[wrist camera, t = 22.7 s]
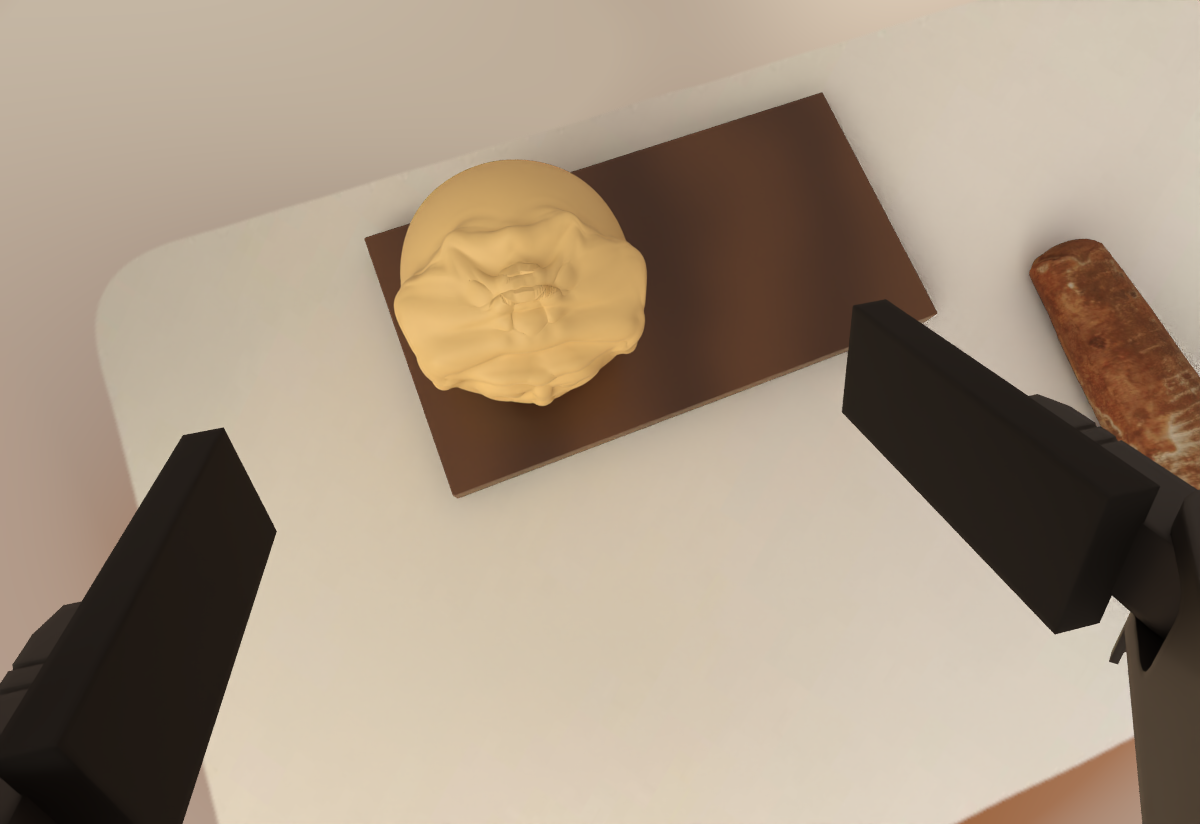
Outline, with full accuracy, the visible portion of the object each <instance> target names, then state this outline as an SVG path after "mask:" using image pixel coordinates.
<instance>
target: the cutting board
mask: <svg viewBox="0 0 1200 824" xmlns="http://www.w3.org/2000/svg"><path fill="white" fill-rule="evenodd" d="M570 173H572V174H573V175H575V176H577V177H578V178H580V179H581V180H583V181H584V182H585V183H587V184H588V185H589V186H590V187H591V188H592V189H593V190H595V191H596V192H597V193H598V195H599V196H600V197H601V198H602V199H603V200H604V201H605V203H606V204H607V205H608V207H609V208H610V210H611V211H612V213H613V214H614V216H615V218H616V219H617V221H618V223H619V225H620V227H621V230H622V232H623V234H624V237H625V239H626V241H627V242H628V243H630V244H631V245H632V246H633V247H634V248H636V249H637V250H638V251H639V252H640V253H641V254H642V256H643V258H644V260H645V263H646V269H647V286H646V300H645V307H644V315H645V325H644V330H643V333H642V335H641V337H640V339H639V340H638V341H637V346H636V348H635V350H634V351H633V352H631V353H629V354H619V355H616V356H615V357H614V358H613V359H612V360H611V361H610V362H608V363H607V364H606V365H605V366H603V367H602V368H601V369H600V370H599V372H598V373H597V374H596V375H595V376H594V377H593V378H592V379H591V380H589V381H588V382H586V383H585V384H583V385H581V386H579V387H577V388H574V389H572V390H570V391H568V392H566V393H565V394H563V395H561V396H560V397H558V398H555V399H554V400H553V401H552V402H551V403H550V404H548V405H545V406H539V405H536V404H535V403H520V402H513V401H498V400H494V399H490V398H488V397H486V396H484V395H482V394H479V393H474V392H470V391H467V390H464V389H461V388H459V387H454V388H451V389H449V390H439V389H438V388H436V387H435V386H434V384H433V382H432V381H431V380H430V379H429V378H427V377H426V376H425V374H424V373H423V372H422V370H421V369H420V367H419V365H418V362H417V358H416V355H415V354H414V352H413V351H412V349H411V347H410V345H409V343H408V341H407V339H406V338H405V336H404V334H403V332H402V330H401V328H400V326H399V323H398V321H397V318H396V315H395V311H394V300H395V297H396V295H397V293H398V291H399V290H400V288H401V279H400V265H401V255H402V249H403V244H404V240H405V237H406V233H407V231H408V228H409V226H410V224H407V225H404V226H401V227H397V228H394V229H391V230H388V231H385V232H382V233H378V234H375V235H372V236H369V237H366V238H365V242H366V245H367V248H368V251H369V254H370V257H371V259H372V262H373V265H374V268H375V271H376V274H377V277H378V280H379V283H380V286H381V288H382V291H383V294H384V297H385V300H386V303H387V306H388V309H389V312H390V314H391V317H392V320H393V323H394V326H395V329H396V332H397V335H398V338H399V341H400V343H401V346H402V349H403V352H404V355H405V358H406V361H407V364H408V367H409V369H410V372H411V375H412V378H413V381H414V384H415V387H416V390H417V393H418V396H419V398H420V401H421V404H422V407H423V410H424V413H425V416H426V419H427V422H428V425H429V427H430V430H431V433H432V436H433V439H434V442H435V445H436V448H437V451H438V453H439V456H440V459H441V462H442V465H443V468H444V471H445V474H446V477H447V480H448V482H449V485H450V488H451V491H452V494H453V496H455V497H456V498H460V497H463V496H466V495H468V494H471V493H474V492H476V491H479V490H482V489H484V488H487V487H490V486H492V485H495V484H497V483H500V482H503V481H505V480H508V479H511V478H513V477H516V476H519V475H521V474H524V473H527V472H529V471H532V470H535V469H537V468H540V467H542V466H545V465H548V464H550V463H553V462H556V461H558V460H561V459H564V458H566V457H569V456H572V455H574V454H577V453H579V452H582V451H585V450H587V449H590V448H593V447H595V446H598V445H601V444H603V443H606V442H609V441H611V440H614V439H617V438H619V437H622V436H624V435H627V434H630V433H632V432H635V431H638V430H640V429H643V428H646V427H648V426H651V425H654V424H656V423H659V422H662V421H664V420H667V419H669V418H672V417H675V416H677V415H680V414H683V413H685V412H688V411H691V410H693V409H696V408H699V407H701V406H704V405H706V404H709V403H712V402H714V401H717V400H720V399H722V398H725V397H728V396H730V395H733V394H736V393H738V392H741V391H744V390H746V389H749V388H751V387H754V386H757V385H759V384H762V383H765V382H767V381H770V380H773V379H775V378H778V377H781V376H783V375H786V374H788V373H791V372H794V371H796V370H799V369H802V368H804V367H807V366H810V365H812V364H815V363H818V362H820V361H823V360H826V359H828V358H831V357H833V356H836V355H839V354H841V353H844V352H847V351H848V348H849V338H850V328H851V318H852V309H853V305H858V304H863V303H868V302H874V301H879V300H884V299H887V300H888V301H889V302H891V303H892V304H894V305H895V306H897V307H898V308H900V309H901V310H903V311H904V312H906V313H907V314H909V315H910V316H911V317H913V318H914V319H916V320H917V321H919V322H920V323H923V322H925V321H927V320H928V319H930V318H931V317H933V316H934V315H936V314H937V311H936V309H935V307H934V305H933V303H932V301H931V300H930V298H929V296H928V294H927V292H926V290H925V288H924V286H923V284H922V282H921V280H920V278H919V277H918V275H917V273H916V271H915V269H914V267H913V265H912V263H911V261H910V259H909V257H908V255H907V254H906V252H905V250H904V248H903V246H902V244H901V242H900V240H899V238H898V236H897V234H896V232H895V231H894V229H893V227H892V225H891V223H890V221H889V219H888V217H887V215H886V213H885V211H884V209H883V208H882V206H881V204H880V202H879V200H878V198H877V196H876V194H875V192H874V190H873V188H872V186H871V185H870V183H869V181H868V179H867V177H866V175H865V173H864V171H863V169H862V167H861V165H860V163H859V162H858V160H857V158H856V156H855V154H854V152H853V150H852V148H851V146H850V144H849V142H848V141H847V139H846V137H845V135H844V133H843V131H842V129H841V127H840V125H839V123H838V121H837V119H836V118H835V116H834V114H833V112H832V110H831V108H830V106H829V104H828V102H827V100H826V98H825V96H824V95H823V93H819V94H815V95H812V96H809V97H806V98H803V99H800V100H797V101H793V102H790V103H787V104H784V105H781V106H778V107H775V108H771V109H768V110H765V111H762V112H759V113H756V114H753V115H749V116H746V117H743V118H740V119H737V120H734V121H731V122H727V123H724V124H721V125H718V126H715V127H712V128H709V129H705V130H702V131H699V132H696V133H693V134H690V135H687V136H683V137H680V138H677V139H674V140H671V141H668V142H665V143H661V144H658V145H655V146H652V147H649V148H646V149H643V150H639V151H636V152H633V153H630V154H627V155H624V156H621V157H617V158H614V159H611V160H608V161H605V162H602V163H599V164H595V165H592V166H589V167H586V168H583V169H580V170H577V171H573V172H570Z"/></svg>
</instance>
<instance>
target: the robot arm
mask: <svg viewBox="0 0 1200 824" xmlns="http://www.w3.org/2000/svg"><path fill="white" fill-rule="evenodd" d="M842 413H843V414H844V415H845V416H846V417H847V418H848V419H849V420H850V421H851V422H852V423H853V424H854V425H855V426H856V427H857V428H858V429H859V430H860V431H861V433H862V434H863V435H864V436H865V437H866V438H867V439H868V440H869V441H870V442H871V443H872V444H873V445H874V446H875V447H876V448H877V449H878V450H879V451H880V452H881V453H882V454H883V456H884V457H885V458H886V459H887V460H888V461H889V462H890V463H891V464H892V465H893V466H894V467H895V468H896V469H897V470H898V471H899V472H900V473H901V474H902V475H903V476H904V477H905V478H906V480H907V481H908V482H909V483H910V484H911V485H912V486H913V487H914V488H915V489H916V490H917V491H918V492H919V493H920V494H921V495H922V496H923V497H924V498H925V499H926V500H927V501H928V502H929V504H930V505H931V506H932V507H933V508H934V509H935V510H936V511H937V512H938V513H939V514H940V515H941V516H942V517H943V518H944V519H945V520H946V521H947V522H948V523H949V524H950V525H951V527H952V528H953V529H954V530H955V531H956V532H957V533H958V534H959V535H960V536H961V537H962V538H963V539H964V540H965V541H966V542H967V543H968V544H969V545H970V546H971V547H972V548H973V549H974V551H975V552H976V553H977V554H978V555H979V556H980V557H981V558H982V559H983V560H984V561H985V562H986V563H987V564H988V565H989V566H990V567H991V568H992V569H993V570H994V571H995V572H996V573H997V575H998V576H999V577H1000V578H1001V579H1002V580H1003V581H1004V582H1005V583H1006V584H1007V585H1008V586H1009V587H1010V588H1011V589H1012V590H1013V591H1014V592H1015V593H1016V594H1017V595H1018V596H1019V598H1020V599H1021V600H1022V601H1023V602H1024V603H1025V604H1026V605H1027V606H1028V607H1029V608H1030V609H1031V610H1032V611H1033V612H1034V613H1035V614H1036V615H1037V616H1038V617H1039V618H1040V619H1041V620H1042V622H1043V623H1044V624H1045V625H1046V626H1047V627H1048V628H1049V629H1050V630H1051V631H1052V632H1053V633H1054V634H1058V633H1062V632H1066V631H1070V630H1074V629H1078V628H1082V627H1086V626H1090V625H1094V624H1097V623H1100V621H1101V618H1102V616H1103V614H1104V612H1105V609H1106V607H1107V605H1108V603H1109V600H1110V598H1111V596H1114V597H1115V598H1116V599H1117V600H1118V601H1119V602H1120V603H1121V604H1122V605H1124V606H1125V607H1126V608H1127V609H1128V610H1129V611H1130V614H1129V616H1128V618H1127V620H1126V623H1125V625H1124V627H1123V629H1122V631H1121V633H1120V635H1119V637H1118V639H1117V641H1116V643H1115V646H1114V648H1113V650H1112V652H1111V656H1110V660H1109V662H1112V663H1115V664H1118V663H1119V661H1120V659H1121V657H1122V655H1123V653H1124V652H1127V663H1128V674H1129V684H1130V695H1131V706H1132V717H1133V727H1134V738H1135V749H1136V760H1137V770H1138V781H1139V792H1140V802H1141V813H1142V824H1200V490H1197V489H1196V488H1194V487H1193V486H1191V485H1190V484H1188V483H1187V482H1185V481H1184V480H1182V479H1181V478H1179V477H1178V476H1176V475H1174V474H1173V473H1171V472H1170V471H1168V470H1167V469H1165V468H1164V467H1162V466H1161V465H1159V464H1158V463H1156V462H1155V461H1153V460H1151V459H1150V458H1148V457H1147V456H1145V455H1144V454H1142V453H1141V452H1139V451H1138V450H1136V449H1135V448H1133V447H1132V446H1130V445H1128V444H1127V443H1125V442H1124V441H1122V440H1120V441H1118V440H1117V439H1116V436H1115V435H1113V434H1112V433H1110V432H1109V431H1107V430H1105V429H1104V428H1102V427H1101V426H1100V427H1096V425H1095V422H1093V421H1092V420H1090V419H1089V418H1087V417H1086V416H1084V415H1082V414H1081V413H1079V412H1078V411H1076V410H1075V409H1073V408H1072V407H1070V406H1068V405H1065V404H1062V403H1060V402H1057V401H1054V400H1052V399H1049V398H1046V397H1044V396H1041V395H1038V394H1036V395H1031V396H1027V395H1026V394H1024V393H1023V392H1022V391H1020V390H1019V389H1017V388H1016V387H1014V386H1013V385H1011V384H1010V383H1008V382H1007V381H1005V380H1004V379H1002V378H1001V377H1000V376H998V375H997V374H995V373H994V372H992V371H991V370H989V369H988V368H986V367H985V366H983V365H982V364H980V363H979V362H978V361H976V360H975V359H973V358H972V357H970V356H969V355H967V354H966V353H964V352H963V351H961V350H960V349H958V348H957V347H956V346H954V345H953V344H951V343H950V342H948V341H947V340H945V339H944V338H942V337H941V336H939V335H938V334H936V333H935V332H933V331H932V330H931V329H929V328H928V327H926V326H925V325H923V324H922V323H920V322H919V321H917V320H916V319H914V318H913V317H911V316H910V315H909V314H907V313H906V312H904V311H903V310H901V309H900V308H898V307H897V306H895V305H894V304H892V303H891V302H889V301H888V300H887V299H884V300H879V301H874V302H868V303H863V304H858V305H853V309H852V318H851V328H850V338H849V348H848V358H847V368H846V377H845V387H844V397H843V407H842ZM276 532H277V531H276V529H275V527H274V525H273V523H272V521H271V519H270V517H269V515H268V513H267V511H266V509H265V507H264V505H263V504H262V502H261V500H260V498H259V496H258V494H257V492H256V490H255V488H254V486H253V484H252V482H251V480H250V478H249V476H248V474H247V472H246V470H245V468H244V466H243V464H242V463H241V461H240V459H239V457H238V455H237V453H236V451H235V449H234V447H233V445H232V443H231V441H230V439H229V437H228V435H227V433H226V431H225V429H224V427H223V428H218V429H213V430H208V431H203V432H198V433H193V434H187V435H183V436H182V438H181V439H180V441H179V443H178V444H177V446H176V447H175V449H174V451H173V452H172V454H171V456H170V457H169V459H168V461H167V462H166V464H165V466H164V467H163V469H162V470H161V472H160V474H159V475H158V477H157V479H156V480H155V482H154V484H153V485H152V487H151V489H150V490H149V492H148V493H147V495H146V497H145V498H144V500H143V502H142V503H141V505H140V507H139V508H138V510H137V511H136V513H135V515H134V516H133V518H132V520H131V521H130V523H129V525H128V526H127V528H126V530H125V532H124V533H123V534H122V536H121V538H120V540H119V542H118V543H117V545H116V546H115V548H114V549H113V551H112V553H111V554H110V556H109V557H108V559H107V561H106V562H105V564H104V566H103V567H102V569H101V571H100V572H99V574H98V576H97V577H96V579H95V581H94V582H93V584H92V585H91V587H90V589H89V590H88V592H87V594H86V595H85V597H84V599H83V600H82V602H77V603H72V604H68V605H63V606H62V607H61V608H60V609H59V610H58V611H57V612H56V613H55V614H54V615H53V616H52V617H51V618H50V619H49V620H47V621H46V622H45V623H44V624H43V625H42V626H41V627H40V628H39V629H38V630H37V631H36V632H35V633H34V634H32V636H31V638H30V639H29V640H28V642H27V644H26V645H25V647H24V648H23V650H22V651H21V653H20V654H19V656H18V657H17V659H16V660H15V662H14V663H13V670H12V671H8V673H7V674H6V676H5V677H4V679H3V680H2V682H1V683H0V824H182V823H183V820H184V817H185V814H186V811H187V808H188V805H189V801H190V799H191V796H192V793H193V790H194V786H195V783H196V780H197V777H198V774H199V771H200V768H201V765H202V762H203V758H204V755H205V752H206V749H207V746H208V743H209V740H210V737H211V734H212V731H213V727H214V724H215V721H216V718H217V715H218V712H219V709H220V706H221V703H222V700H223V696H224V693H225V690H226V687H227V684H228V681H229V678H230V675H231V672H232V668H233V665H234V662H235V659H236V656H237V653H238V650H239V647H240V644H241V641H242V637H243V634H244V631H245V628H246V625H247V622H248V619H249V616H250V613H251V610H252V606H253V603H254V600H255V597H256V594H257V591H258V588H259V585H260V582H261V578H262V575H263V572H264V569H265V566H266V563H267V560H268V557H269V554H270V551H271V547H272V544H273V541H274V538H275V535H276Z"/></svg>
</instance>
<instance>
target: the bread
mask: <svg viewBox="0 0 1200 824" xmlns="http://www.w3.org/2000/svg"><path fill="white" fill-rule="evenodd" d="M1029 275H1030V277H1031V280H1032V282H1033V284H1034V286H1035V288H1036V290H1037V292H1038V294H1039V296H1040V298H1041V300H1042V302H1043V304H1044V306H1045V308H1046V310H1047V312H1048V314H1049V316H1050V319H1051V321H1052V324H1053V326H1054V328H1055V330H1056V333H1057V336H1058V339H1059V341H1060V343H1061V345H1062V348H1063V350H1064V352H1065V354H1066V356H1067V358H1068V360H1069V362H1070V364H1071V366H1072V369H1073V371H1074V373H1075V375H1076V377H1077V379H1078V381H1079V383H1080V384H1081V386H1082V388H1083V391H1084V393H1085V395H1086V397H1087V399H1088V401H1089V403H1090V405H1091V407H1092V409H1093V411H1094V413H1095V415H1096V418H1097V419H1098V421H1099V423H1100V425H1101V427H1102V428H1104V429H1105V430H1107V431H1109V432H1110V433H1112V434H1113V435H1115V436H1116V439H1117V440H1118V441H1120V440H1122V441H1124V442H1125V443H1127V444H1128V445H1130V446H1132V447H1133V448H1135V449H1136V450H1138V451H1139V452H1141V453H1142V454H1144V455H1145V456H1147V457H1148V458H1150V459H1151V460H1153V461H1155V462H1156V463H1158V464H1159V465H1161V466H1162V467H1164V468H1165V469H1167V470H1168V471H1170V472H1171V473H1173V474H1174V475H1176V476H1178V477H1179V478H1181V479H1182V480H1184V481H1185V482H1187V483H1188V484H1190V485H1191V486H1193V487H1194V488H1196V489H1197V490H1200V377H1199V375H1198V374H1197V373H1196V371H1195V370H1194V369H1193V367H1192V366H1191V365H1190V363H1189V362H1188V361H1187V359H1186V358H1185V356H1184V355H1183V353H1182V352H1181V351H1180V349H1179V348H1178V346H1177V345H1176V343H1175V342H1174V341H1173V339H1172V338H1171V336H1170V335H1169V333H1168V332H1167V330H1166V329H1165V328H1164V326H1163V325H1162V323H1161V322H1160V320H1159V319H1158V318H1157V316H1156V315H1155V313H1154V312H1153V310H1152V309H1151V307H1150V306H1149V305H1148V304H1147V302H1146V301H1145V300H1144V298H1143V297H1142V296H1141V294H1140V293H1139V291H1138V290H1137V289H1136V287H1135V286H1134V285H1133V283H1132V282H1131V280H1130V279H1129V278H1128V276H1127V275H1126V274H1125V272H1124V271H1123V269H1121V267H1120V266H1119V264H1118V263H1117V262H1116V261H1115V259H1114V258H1113V257H1112V256H1111V254H1110V253H1109V252H1108V250H1107V249H1106V248H1105V247H1104V246H1103V244H1102V243H1100V242H1097V241H1095V240H1090V239H1076V240H1070V241H1067V242H1064V243H1061V244H1059V245H1056V246H1054V247H1052V248H1051V249H1049V250H1048V251H1046V252H1045V253H1044V254H1042V255H1041V256H1039V257H1038V258H1036V260H1035V261H1034V263H1033V265H1032V268H1031V270H1030V272H1029Z"/></svg>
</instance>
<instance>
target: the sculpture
mask: <svg viewBox="0 0 1200 824" xmlns="http://www.w3.org/2000/svg"><path fill="white" fill-rule="evenodd" d="M400 279H401V288H400V290H399V291H398V293H397V295H396V297H395V300H394V311H395V315H396V318H397V321H398V323H399V326H400V328H401V330H402V332H403V334H404V336H405V338H406V339H407V341H408V343H409V345H410V347H411V349H412V351H413V352H414V354H415V355H416V358H417V362H418V365H419V367H420V369H421V370H422V372H423V373H424V374H425V376H426V377H427V378H429V379H430V380H431V381H432V382H433V384H434V386H435V387H436V388H438V389H439V390H449V389H451V388H454V387H459V388H461V389H464V390H467V391H470V392H474V393H479V394H482V395H484V396H486V397H488V398H490V399H494V400H498V401H513V402H520V403H535V404H536V405H539V406H545V405H548V404H550V403H551V402H552V401H553V400H554V399H555V398H558V397H560V396H561V395H563V394H565V393H566V392H568V391H570V390H572V389H574V388H577V387H579V386H581V385H583V384H585V383H586V382H588V381H589V380H591V379H592V378H593V377H594V376H595V375H596V374H597V373H598V372H599V370H600V369H601V368H602V367H603V366H605V365H606V364H607V363H608V362H610V361H611V360H612V359H613V358H614V357H615V356H616V355H619V354H629V353H631V352H633V351H634V350H635V348H636V346H637V341H638V340H639V339H640V337H641V335H642V333H643V330H644V325H645V315H644V307H645V300H646V286H647V269H646V263H645V260H644V258H643V256H642V254H641V253H640V252H639V251H638V250H637V249H636V248H634V247H633V246H632V245H631V244H630V243H628V242H627V241H626V239H625V237H624V234H623V232H622V230H621V227H620V225H619V223H618V221H617V219H616V218H615V216H614V214H613V213H612V211H611V210H610V208H609V207H608V205H607V204H606V203H605V201H604V200H603V199H602V198H601V197H600V196H599V195H598V193H597V192H596V191H595V190H593V189H592V188H591V187H590V186H589V185H588V184H587V183H585V182H584V181H583V180H581V179H580V178H578V177H577V176H575V175H573V174H572V173H570V172H568V171H566V170H563V169H561V168H558V167H556V166H553V165H549V164H546V163H541V162H536V161H529V160H500V161H493V162H488V163H484V164H481V165H478V166H475V167H472V168H469V169H467V170H465V171H463V172H461V173H459V174H457V175H455V176H453V177H452V178H450V179H448V180H447V181H445V182H444V183H443V184H441V185H440V186H439V187H438V188H436V189H435V190H434V191H433V192H432V193H431V194H430V195H429V196H428V197H427V198H426V199H425V201H424V202H423V203H422V205H421V206H420V207H419V209H418V210H417V212H416V214H415V215H414V217H413V219H412V221H411V223H410V226H409V228H408V231H407V233H406V237H405V240H404V244H403V249H402V255H401V265H400Z"/></svg>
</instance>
